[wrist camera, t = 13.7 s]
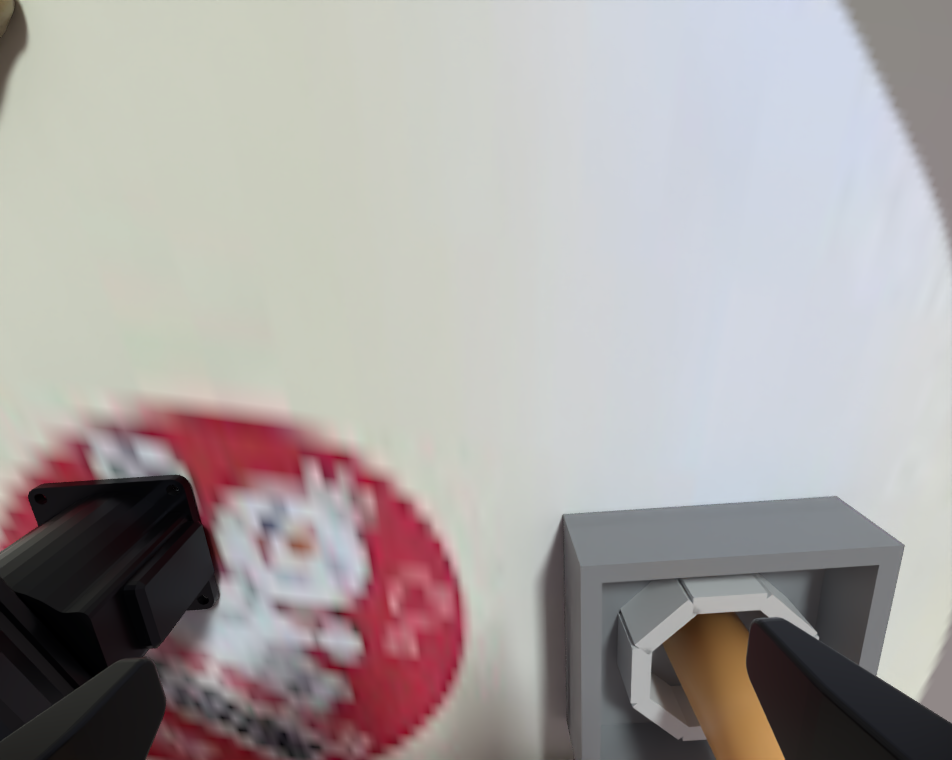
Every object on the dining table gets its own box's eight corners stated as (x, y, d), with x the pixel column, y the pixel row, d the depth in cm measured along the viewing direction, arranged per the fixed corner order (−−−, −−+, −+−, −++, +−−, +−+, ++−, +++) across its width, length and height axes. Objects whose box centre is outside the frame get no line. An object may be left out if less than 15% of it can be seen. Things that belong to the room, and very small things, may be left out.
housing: (566, 719, 25) (582, 795, 22) (563, 514, 22) (580, 566, 18) (802, 705, 25) (853, 778, 22) (836, 496, 21) (904, 545, 18)
